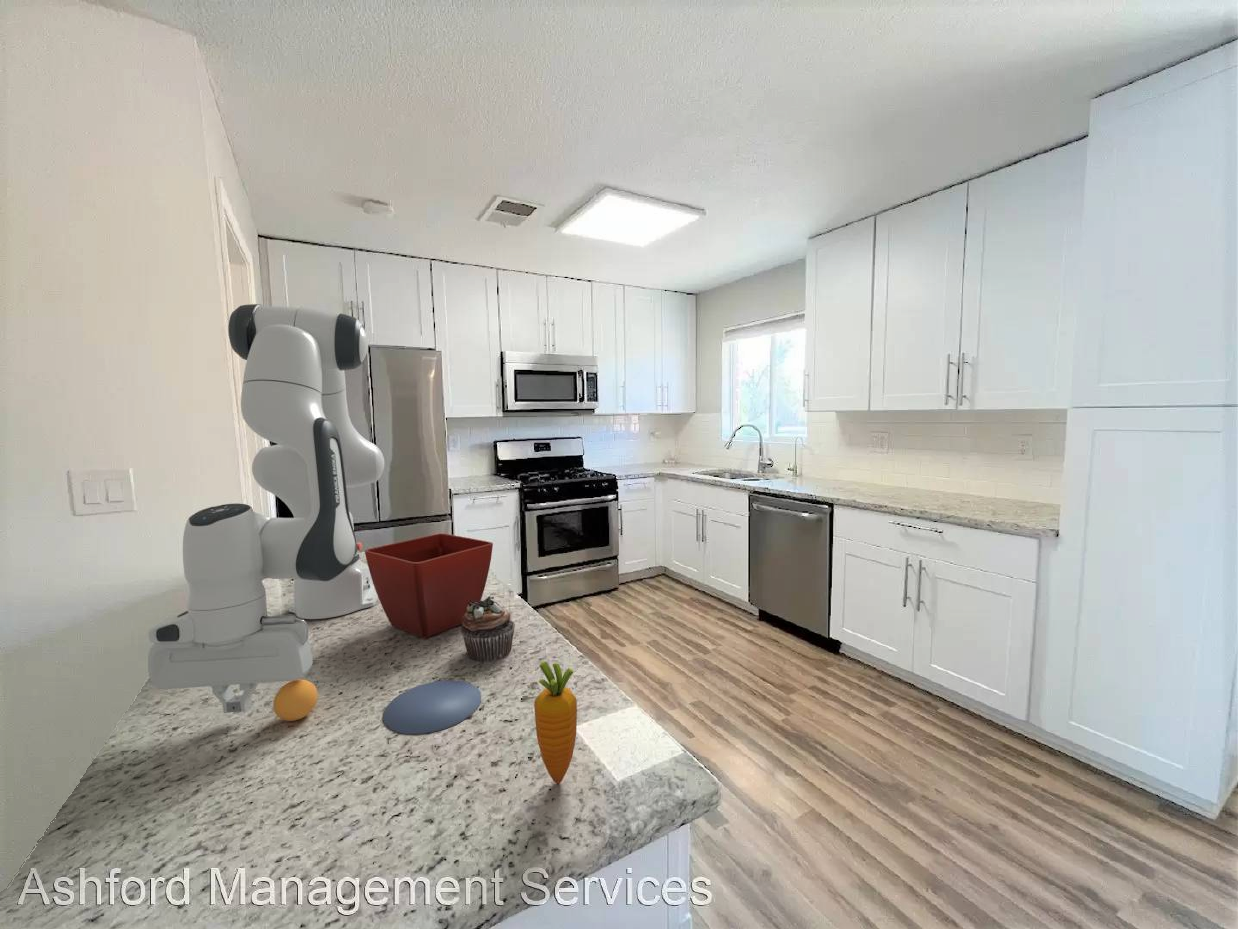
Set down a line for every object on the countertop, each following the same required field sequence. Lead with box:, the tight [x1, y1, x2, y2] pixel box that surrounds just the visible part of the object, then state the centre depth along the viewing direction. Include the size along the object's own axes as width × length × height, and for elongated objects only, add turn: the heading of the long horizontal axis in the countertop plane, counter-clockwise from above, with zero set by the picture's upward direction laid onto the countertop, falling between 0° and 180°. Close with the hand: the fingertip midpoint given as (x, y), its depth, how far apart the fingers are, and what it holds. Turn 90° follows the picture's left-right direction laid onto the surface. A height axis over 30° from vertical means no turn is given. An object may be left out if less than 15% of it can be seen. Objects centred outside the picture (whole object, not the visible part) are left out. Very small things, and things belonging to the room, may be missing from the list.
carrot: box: [533, 660, 578, 785], centre depth 59 cm, size 5×5×15 cm
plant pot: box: [364, 533, 494, 639], centre depth 107 cm, size 19×19×17 cm
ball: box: [272, 679, 318, 722], centre depth 74 cm, size 6×6×6 cm
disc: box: [382, 679, 482, 735], centre depth 76 cm, size 14×14×1 cm
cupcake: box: [460, 595, 516, 663], centre depth 93 cm, size 10×10×10 cm
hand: (238, 710), depth 73 cm, fingers closed
